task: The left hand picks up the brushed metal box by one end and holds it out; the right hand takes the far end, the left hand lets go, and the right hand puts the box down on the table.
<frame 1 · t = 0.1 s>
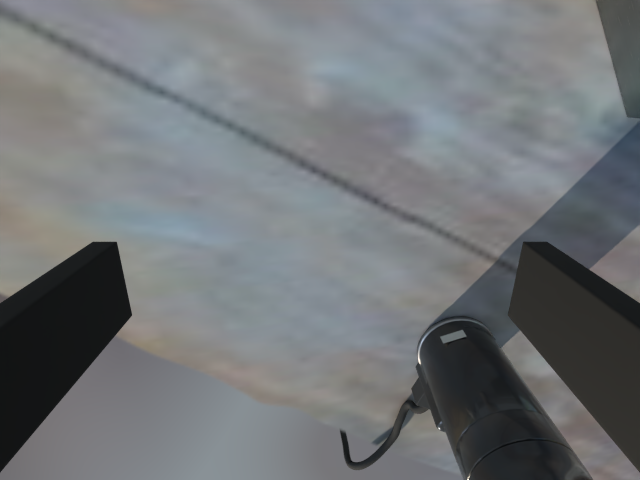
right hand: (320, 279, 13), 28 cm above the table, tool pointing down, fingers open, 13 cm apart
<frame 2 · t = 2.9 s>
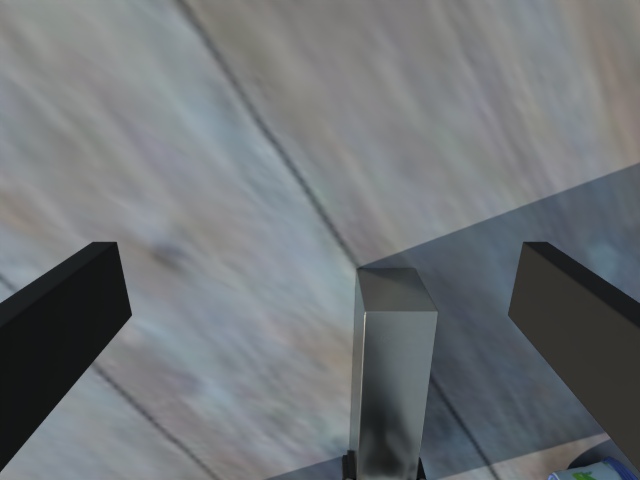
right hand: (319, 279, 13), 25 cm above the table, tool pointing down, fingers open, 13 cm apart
box: (378, 366, 45), on the table, touching left hand
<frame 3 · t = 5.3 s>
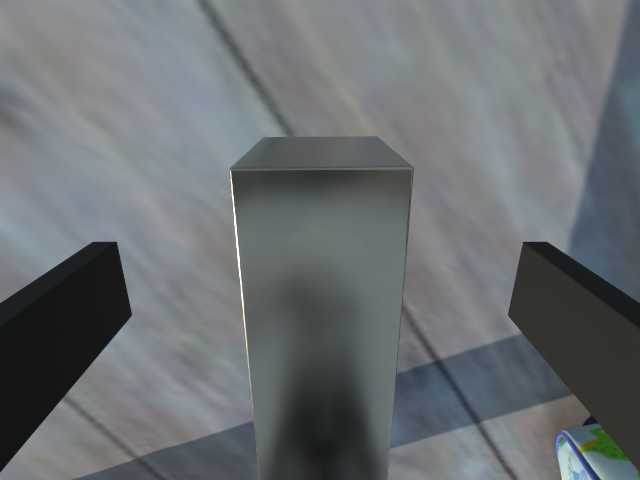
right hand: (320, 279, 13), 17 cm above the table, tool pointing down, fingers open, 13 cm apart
box: (321, 334, 26), point 7 cm above the table, touching left hand
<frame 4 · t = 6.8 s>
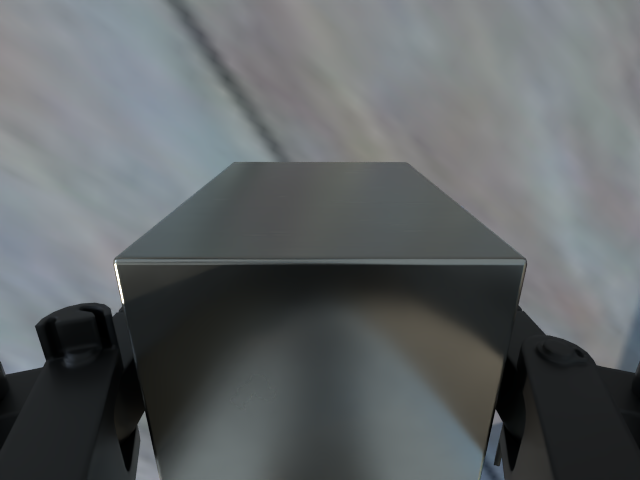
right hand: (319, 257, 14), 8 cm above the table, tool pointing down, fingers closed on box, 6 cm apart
box: (320, 431, 18), point 7 cm above the table, touching right hand, left hand
when the left hand's fingers open (12 cm above the table, at t = 7.9 s): box moves 2 cm, held by the right hand.
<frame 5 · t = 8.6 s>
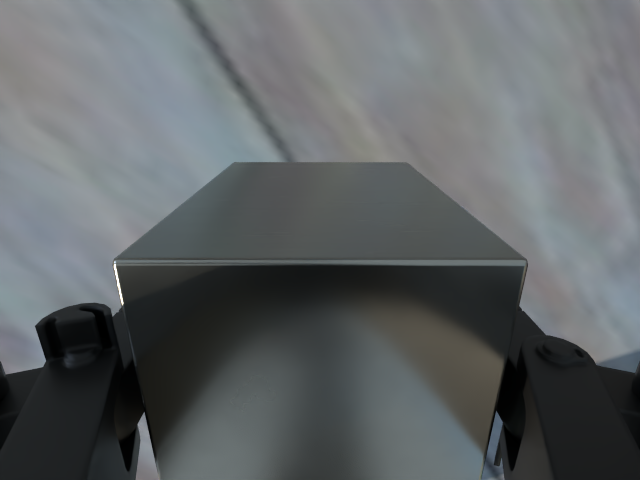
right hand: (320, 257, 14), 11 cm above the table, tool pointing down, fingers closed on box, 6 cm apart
box: (320, 432, 18), point 10 cm above the table, touching right hand
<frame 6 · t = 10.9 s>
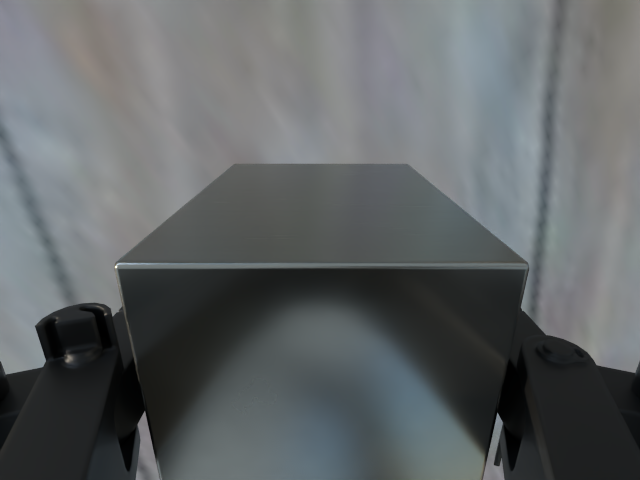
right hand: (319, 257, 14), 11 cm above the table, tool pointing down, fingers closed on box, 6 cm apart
box: (320, 433, 18), point 10 cm above the table, touching right hand
when the right hand's fingers open (2 cm above the table, at t = 14.9 s): box drops 2 cm, on the table.
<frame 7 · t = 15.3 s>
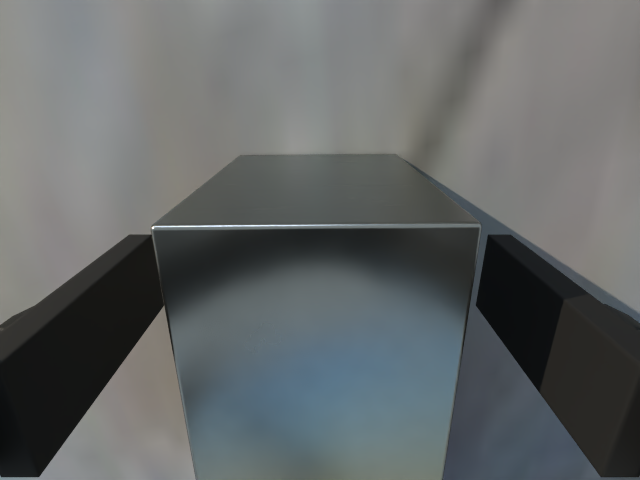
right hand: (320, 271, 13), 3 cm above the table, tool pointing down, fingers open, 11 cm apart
box: (320, 406, 20), on the table
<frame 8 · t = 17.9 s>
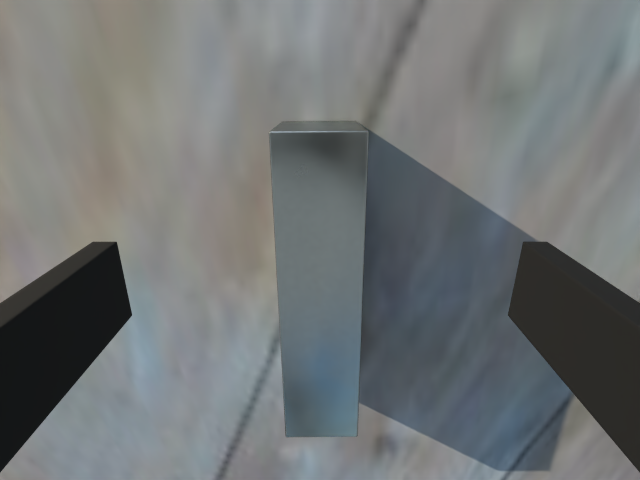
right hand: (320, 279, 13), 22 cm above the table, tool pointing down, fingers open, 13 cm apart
box: (320, 261, 36), on the table
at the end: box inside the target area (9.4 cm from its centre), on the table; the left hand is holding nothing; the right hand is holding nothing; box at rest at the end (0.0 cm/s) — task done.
